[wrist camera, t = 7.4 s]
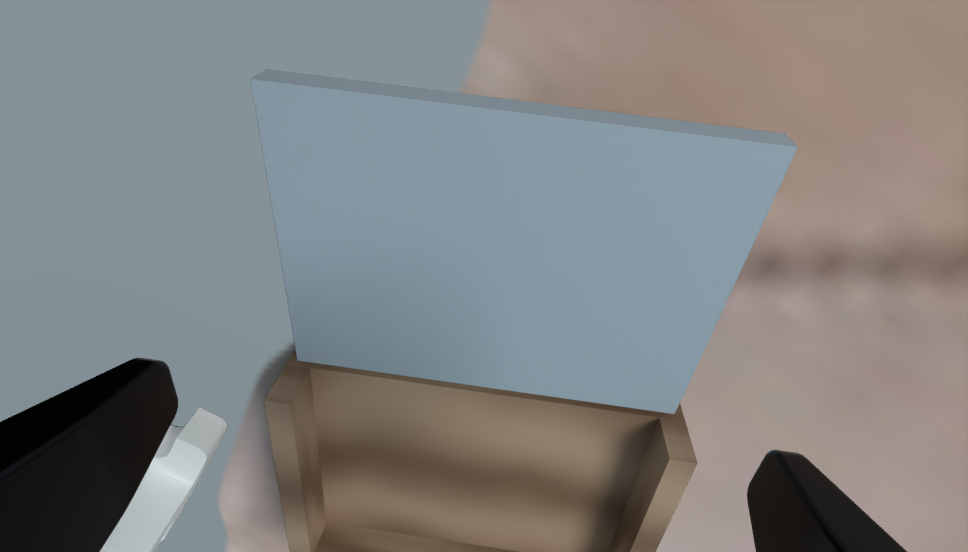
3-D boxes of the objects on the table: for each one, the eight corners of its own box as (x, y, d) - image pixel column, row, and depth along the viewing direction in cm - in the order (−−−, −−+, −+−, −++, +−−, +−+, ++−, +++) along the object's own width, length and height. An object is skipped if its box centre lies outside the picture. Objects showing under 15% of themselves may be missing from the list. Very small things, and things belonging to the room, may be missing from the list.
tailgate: (674, 414, 21) (797, 147, 14) (297, 360, 21) (250, 79, 15) (668, 388, 22) (781, 129, 15) (309, 338, 22) (270, 66, 16)
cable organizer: (231, 421, 27) (86, 641, 18) (180, 514, 32) (46, 721, 23) (128, 372, 26) (-77, 582, 17) (91, 476, 31) (-83, 680, 22)
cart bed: (614, 540, 29) (628, 668, 24) (322, 496, 29) (275, 612, 24) (674, 385, 23) (712, 513, 18) (305, 333, 23) (237, 442, 18)
